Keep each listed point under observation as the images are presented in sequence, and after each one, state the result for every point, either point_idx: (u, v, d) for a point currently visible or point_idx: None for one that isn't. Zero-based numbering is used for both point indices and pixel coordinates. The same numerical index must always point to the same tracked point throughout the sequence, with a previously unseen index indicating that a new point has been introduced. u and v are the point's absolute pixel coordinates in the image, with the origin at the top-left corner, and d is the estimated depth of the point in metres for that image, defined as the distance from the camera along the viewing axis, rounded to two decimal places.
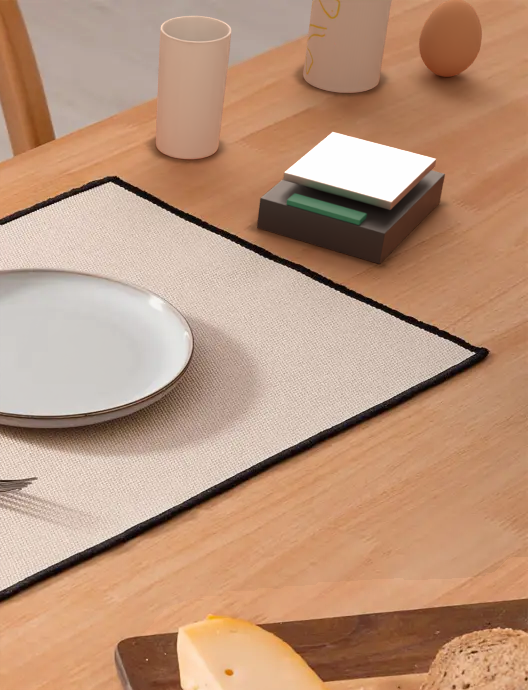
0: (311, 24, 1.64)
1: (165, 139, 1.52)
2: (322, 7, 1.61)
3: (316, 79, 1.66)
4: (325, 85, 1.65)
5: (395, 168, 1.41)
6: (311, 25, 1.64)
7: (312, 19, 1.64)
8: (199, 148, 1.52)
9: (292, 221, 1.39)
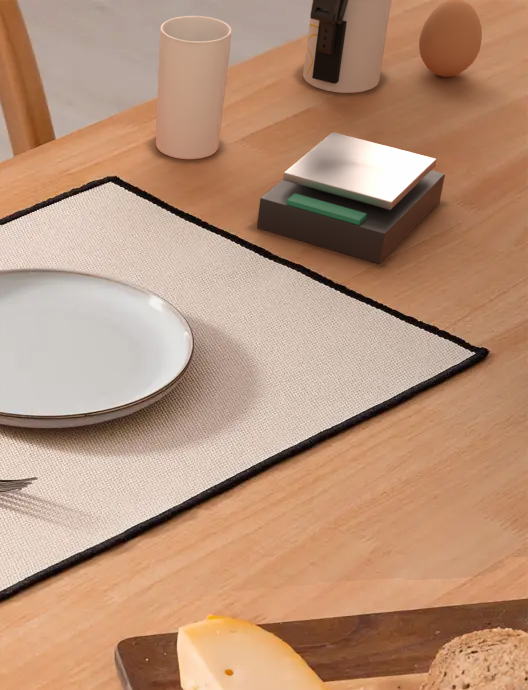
0: (311, 24, 1.64)
1: (165, 139, 1.52)
2: None
3: (316, 79, 1.66)
4: (325, 85, 1.65)
5: (395, 168, 1.41)
6: (311, 25, 1.64)
7: (312, 19, 1.64)
8: (199, 148, 1.52)
9: (292, 221, 1.39)
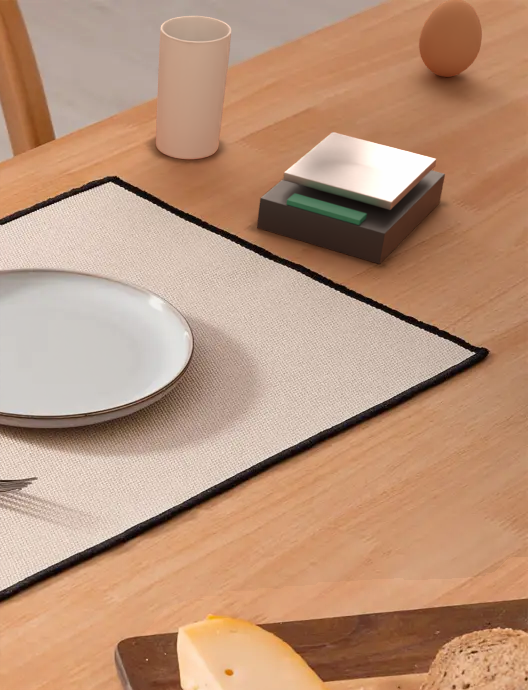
0: None
1: (165, 139, 1.52)
2: None
3: None
4: None
5: (395, 168, 1.41)
6: None
7: None
8: (199, 148, 1.52)
9: (292, 221, 1.39)
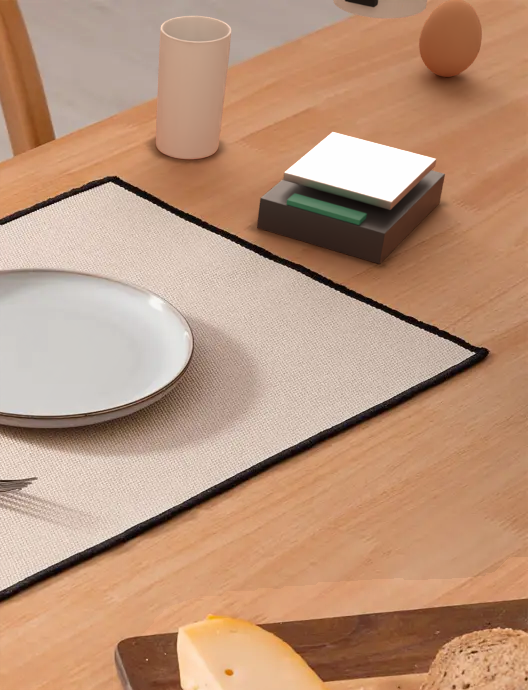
0: None
1: (165, 139, 1.52)
2: None
3: (349, 2, 1.35)
4: (361, 9, 1.35)
5: (395, 168, 1.41)
6: None
7: None
8: (199, 148, 1.52)
9: (292, 221, 1.39)
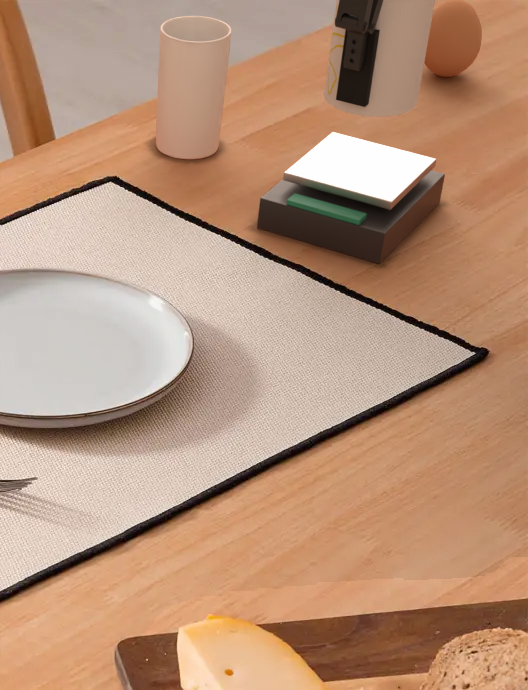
0: (334, 33, 1.33)
1: (165, 139, 1.52)
2: None
3: None
4: (351, 108, 1.34)
5: (395, 168, 1.41)
6: (334, 34, 1.33)
7: None
8: (199, 148, 1.52)
9: (292, 221, 1.39)
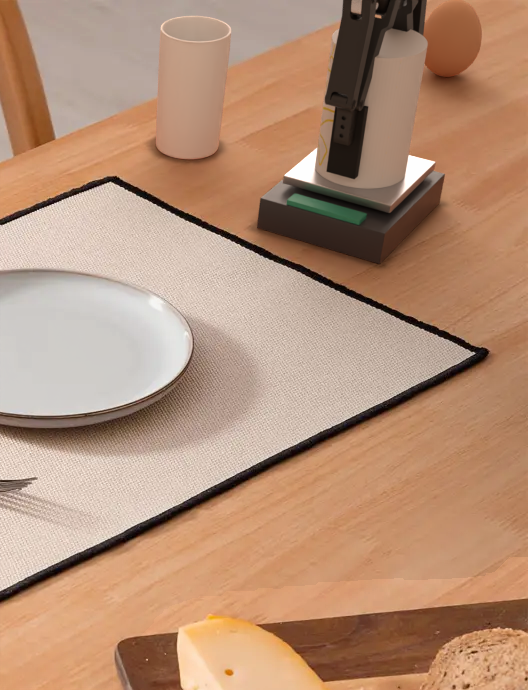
0: (325, 107, 1.37)
1: (165, 139, 1.52)
2: None
3: None
4: (342, 179, 1.38)
5: None
6: (325, 108, 1.37)
7: None
8: (199, 148, 1.52)
9: (292, 221, 1.39)
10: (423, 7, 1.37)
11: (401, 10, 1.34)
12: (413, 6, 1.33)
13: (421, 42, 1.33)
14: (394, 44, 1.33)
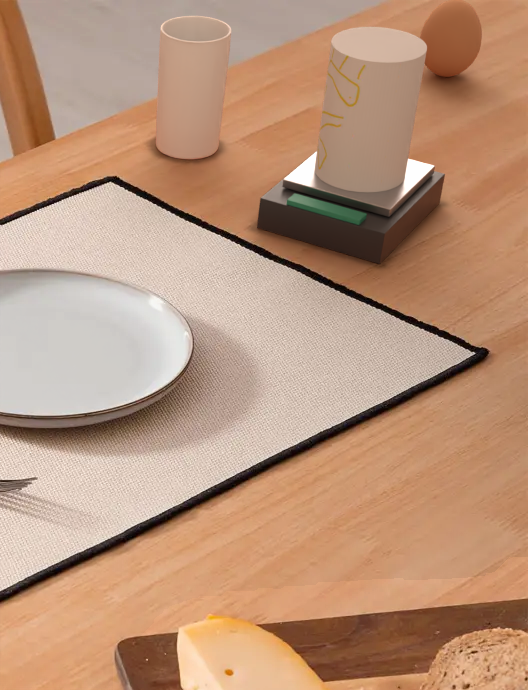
0: (324, 111, 1.37)
1: (165, 139, 1.52)
2: (338, 92, 1.34)
3: (330, 176, 1.39)
4: (341, 183, 1.39)
5: None
6: (324, 112, 1.37)
7: (326, 105, 1.37)
8: (199, 148, 1.52)
9: (292, 221, 1.39)
10: None
11: None
12: None
13: (421, 46, 1.34)
14: (393, 48, 1.33)
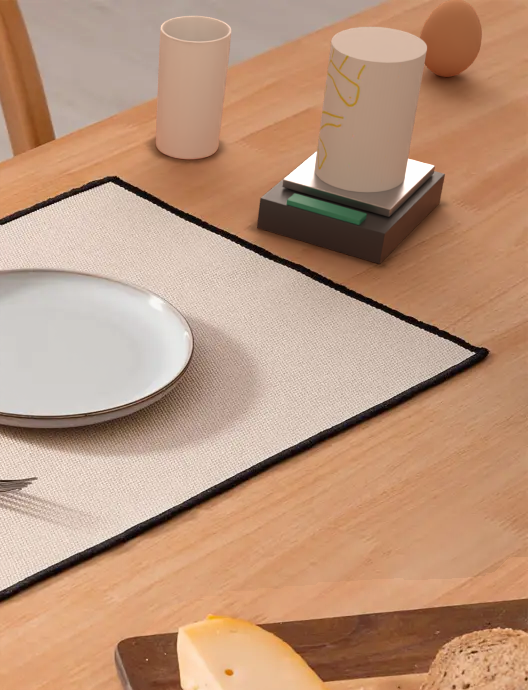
0: (324, 111, 1.37)
1: (165, 139, 1.52)
2: (338, 92, 1.34)
3: (330, 176, 1.39)
4: (341, 183, 1.39)
5: None
6: (324, 112, 1.37)
7: (326, 105, 1.37)
8: (199, 148, 1.52)
9: (292, 221, 1.39)
10: None
11: None
12: None
13: (421, 46, 1.34)
14: (393, 48, 1.33)
